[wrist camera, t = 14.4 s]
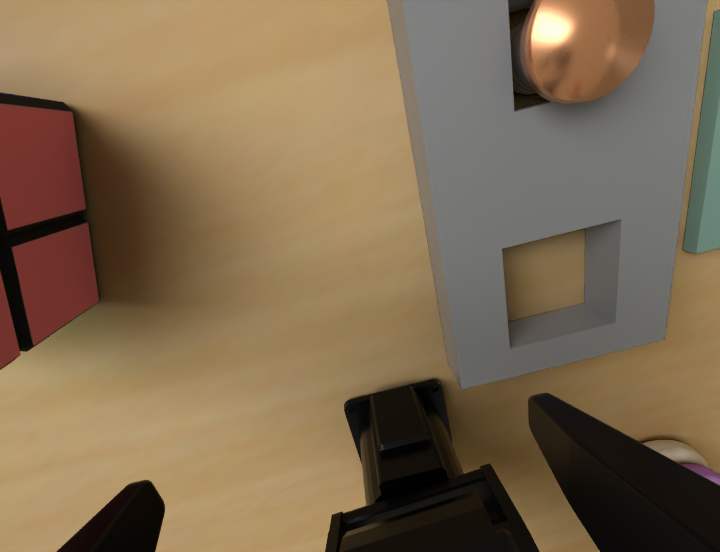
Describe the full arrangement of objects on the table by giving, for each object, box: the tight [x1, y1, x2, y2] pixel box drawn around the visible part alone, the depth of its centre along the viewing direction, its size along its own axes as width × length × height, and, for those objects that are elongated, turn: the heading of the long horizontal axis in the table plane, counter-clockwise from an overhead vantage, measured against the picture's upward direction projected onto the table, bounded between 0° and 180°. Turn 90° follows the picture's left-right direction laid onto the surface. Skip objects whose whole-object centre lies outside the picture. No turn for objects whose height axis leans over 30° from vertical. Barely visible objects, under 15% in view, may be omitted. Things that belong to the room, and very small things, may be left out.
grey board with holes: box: [387, 0, 707, 390], centre depth 17 cm, size 20×12×2 cm, turn 13°
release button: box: [510, 0, 655, 104], centre depth 14 cm, size 4×4×4 cm
